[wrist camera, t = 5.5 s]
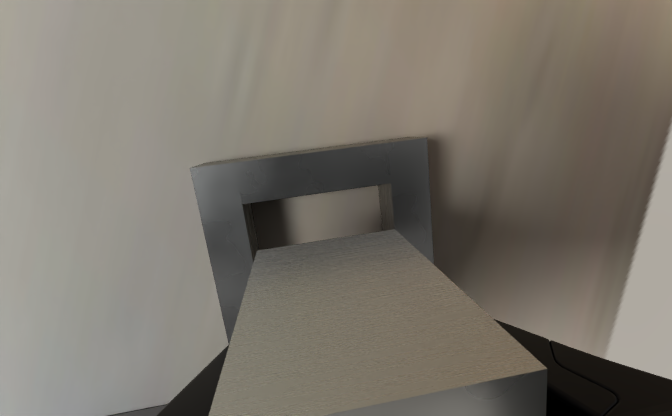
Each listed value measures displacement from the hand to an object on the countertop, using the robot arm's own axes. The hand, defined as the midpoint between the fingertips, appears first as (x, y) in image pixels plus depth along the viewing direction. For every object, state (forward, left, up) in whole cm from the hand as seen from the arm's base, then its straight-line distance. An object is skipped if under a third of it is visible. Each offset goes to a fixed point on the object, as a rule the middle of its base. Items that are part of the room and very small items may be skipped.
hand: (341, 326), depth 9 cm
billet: (0, 0, -1) cm, 1 cm away
